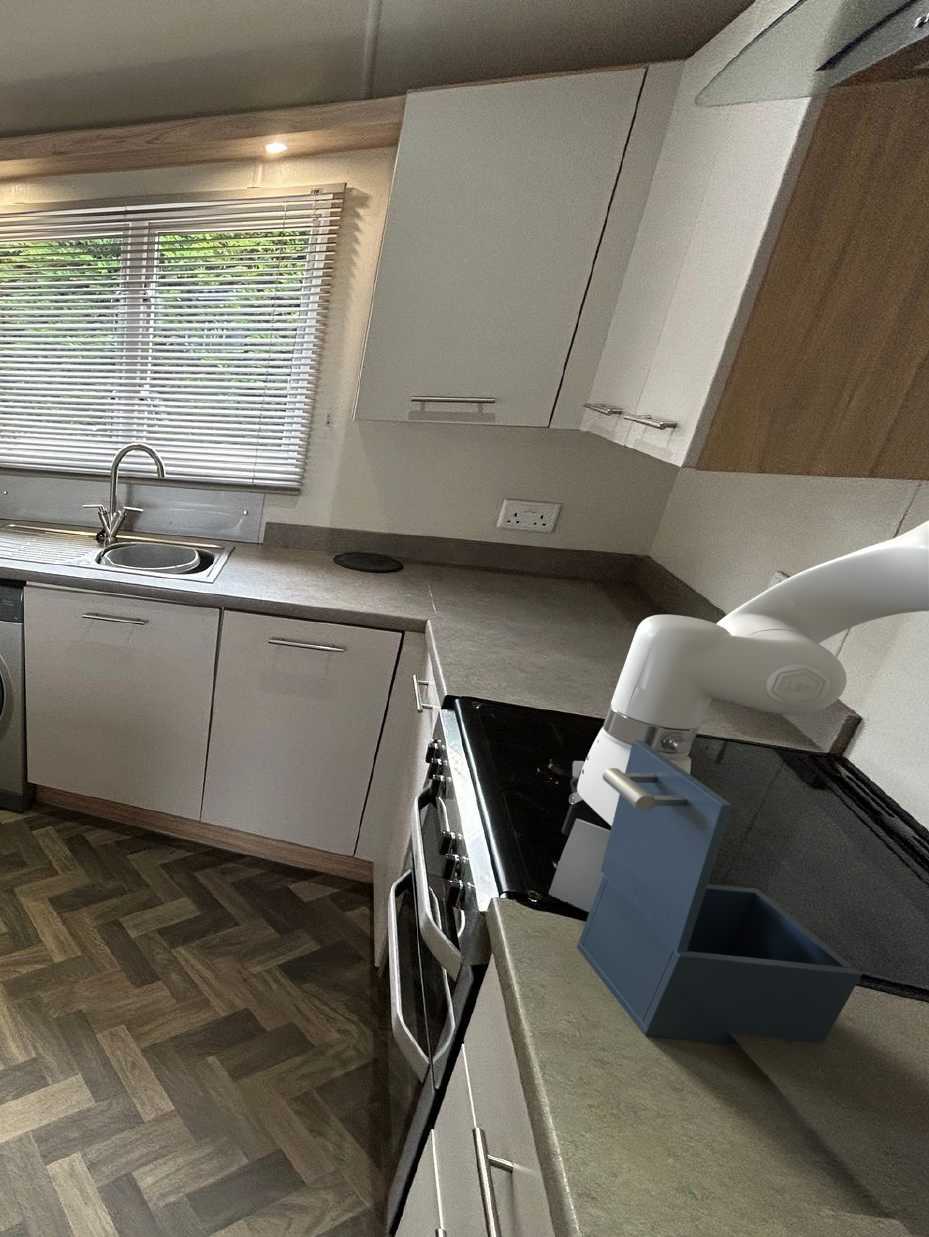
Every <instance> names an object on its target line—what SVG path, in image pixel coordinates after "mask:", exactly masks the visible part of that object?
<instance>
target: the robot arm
mask: <svg viewBox="0 0 929 1237" xmlns="http://www.w3.org/2000/svg"><path fill="white" fill-rule="evenodd" d="M918 612H929V519H928V520H927V521H925V522H923V523H922V524H919V525H918V526H916V527H914V528H913V529H911V530H908V531H906V532H905V533H903V534H901V535H898V536H896V537H894V538H891V539H887V540H884V541H881V542H879V543H875V544H872V545H870V546H866V547H863V548H860V549H858V550H856V551H853V552H851V553H848V554H845V555H843V556H840V557H837V558H835V559H832V560H829V561H826V562H823V563H820V564H817V565H814V566H812V567H810V568H807V569H806V570H803V571H800V572H798V573H796V574H794V575H791V576H790V577H788V578H786V579H784V580H782V581H780V582H779V583H777V584H775V585H773V586H771V587H769V588H768V589H766V590H765V591H763V592H761V593H760V594H758V595H756V596H755V597H753V598H751V599H750V600H748V601H747V602H745V603H743V604H742V605H740V606H738V607H736V608H735V609H734V610H732V611H731V612H730V613H728V614H726V615H725V616H724V617H722V618H721V619H720V620H719V621H718V622H716V623H715V622H713V621H709V620H706V619H701V618H697V617H692V616H686V615H679V614H655V615H651V616H648V617H646V618H645V619H642V621H641V622H640V623H639V624H638V625H637V628H636V630H635V633H634V636H633V639H632V641H631V644H630V647H629V650H628V653H627V656H626V659H625V662H624V665H623V667H622V670H621V673H620V676H619V679H618V682H617V684H616V688H615V690H614V692H613V696H612V698H611V701H610V704H609V707H608V710H607V713H606V716H605V719H604V722H603V725H602V727H601V728H600V730H599V732H598V734H597V736H596V737H595V739H594V741H593V743H592V745H591V748H590V749H589V752H588V754H587V756H586V758H585V761H583V760H573V762H572V778H571V780H570V788H571V794H570V795H569V798H568V802H569V804H570V805H569V808H568V811H567V813H566V817H565V819H564V823H563V825H562V827H561V833H562V834H563V835H564V836H565V837H566V836H567V837H569V836H570V833H571V831H572V828H573V826H574V823H575V821H576V819H580V820H583V821H585V822H588V823H591V824H593V825H596V826H597V823H598V820H599V818H600V817H601V818H602V819H603V821H605V822H606V823H607V824H608V825H609V826H610V827H612V823H613V819H614V815H615V811H616V807H617V803H618V799H619V795H620V794H619V793H618V792H617V791H616V790H615V789H613V788H612V787H611V786H610V785H609V784H608V783H606V782H605V781H604V780H603V773H604V772H605V771H606V770H608V769H610V768H617V769H619V770H620V771H622V772H623V773H625V771H626V767H627V763H628V759H629V755H630V751H631V747H632V743H633V740H642V741H644V742H645V743H646V744H648V745H649V746H650V747H652V748H653V749H655V750H656V751H657V752H659V753H660V754H662V755H663V756H664V757H666V758H667V759H669V760H670V761H671V762H673V763H674V764H676V765H677V766H678V767H680V768H681V769H683V770H684V771H685V772H687V773H688V774H690V775H691V768H692V758H691V757H689V755H690V754H689V753H690V752H691V749H692V747H693V744H694V741H695V740H696V736H697V735H698V732H699V730H700V727H701V724H702V721H703V719H704V717H705V715H706V713H707V712H706V711H707V710H708V707H709V705H710V702H711V700H712V699H713V698H714V699H718V700H722V701H724V702H730V703H732V704H735V705H739V706H743V707H747V708H750V709H753V710H756V711H761V712H766V713H769V714H770V713H771V714H776V715H787V716H789V715H790V716H795V715H797V716H798V715H806V714H810V713H814V712H818V711H821V710H824V709H825V708H828V707H829V706H831V705H832V704H834V703H835V702H836V701H838V699H839V698H841V696H842V694H843V693H844V691H845V689H846V686H847V673H846V669H845V667H844V665H843V664H842V663H841V661H840V660H839V659H838V657H837V656H836V655H835V654H834V653H832V652H831V651H830V650H829V649H827V648H826V647H824V646H823V645H822V644H821V643H823V642H824V641H826V640H828V639H830V638H832V637H834V636H836V635H837V634H840V633H843V632H845V631H846V630H849V629H851V628H853V627H856V626H859V625H862V624H864V623H865V624H866V623H868V622H872V621H875V620H879V619H882V618H885V617H891V616H896V615H901V614H908V613H918Z"/></svg>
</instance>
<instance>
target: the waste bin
mask: <svg viewBox="0 0 929 1237" xmlns="http://www.w3.org/2000/svg"><path fill="white" fill-rule="evenodd" d="M576 948H577V950H578V951H579V952H580V953H581V955H582V957H583V958H584V959H585V960H586V962H587V963H588V964H589V966H590V967H591V968H592V969H593V971H594V972H595V973H596V974H597V976H598V977H599V978H600V980H601V981H602V983H603V984H604V985H605V986H606V988H608V990H609V991H610V993H611V994H612V995H613V996H614V998H615V999H616V1000H617V1001H618V1003H619V1004H620V1005H621V1007H622V1008H623V1009H624V1010H625V1012H626V1013H627V1015H628V1016H629V1017H630V1018H631V1019H632V1021H633V1023H635V1025H636V1026H637V1028H638V1029H639V1030H640V1031H641V1032H642V1034H643V1035H644V1036H645V1037H653V1038H661V1039H670V1040H678V1041H679V1040H680V1041H687V1042H697V1043H705V1044H712V1045H723V1046H730V1047H740V1048H741V1047H742V1046H741V1044H739V1042H738V1041H737V1040H736V1039H735V1038H734V1037H733V1036H732V1034H735V1035H744V1036H752V1037H760V1038H761V1037H762V1038H768V1039H769V1038H770V1039H779V1040H787V1041H795V1042H797V1041H798V1042H804V1043H805V1042H806V1043H814V1044H821V1045H823V1044H824V1043H825V1041H826V1039H827V1038H828V1036H829V1035H830V1032H831V1030H832V1029H833V1027H834V1025H835V1023H836V1022H837V1020H838V1018H839V1016H840V1014H841V1013H842V1011H843V1009H844V1008H845V1006H846V1004H847V1002H848V1001H849V998H850V997H851V994H852V993H853V991H854V990H855V988H856V986H857V985H858V983H859V981H860V979H861V977H862V973H861V972H859V971H858V970H857V969H856V968H854V966H852V965H851V964H850V963H849V962H848V961H846V960H845V959H844V958H842V956H841V955H839V954H838V953H837V952H835V951H834V950H833V949H832V948H830V947H829V946H828V945H827V944H826V943H824V942H823V940H821V939H820V938H819V937H817V935H814V933H813V932H812V931H810V930H809V929H807V927H805V926H804V925H802V924H801V923H800V922H798V920H796V919H795V918H794V917H793V916H792V915H790V914H789V913H788V912H787V911H785V909H783V908H782V907H781V906H779V905H778V904H777V903H776V902H774V901H773V899H771V898H770V897H769V896H767V895H766V894H765V893H764V892H762V890H760V889H759V888H754V887H744V886H732V885H723V884H713V883H711V884H710V883H708V885H707V888H706V891H705V895H704V898H703V901H702V904H701V907H700V910H699V914H698V917H697V920H696V923H695V926H694V929H693V933H692V936H691V939H690V942H689V945H688V949H687V952H677V951H676V950H675V949H674V948H673V947H672V946H671V945H670V944H669V943H668V942H667V941H666V939H665V938H664V937H663V936H662V935H661V934H660V933H659V932H658V931H657V930H656V929H655V928H654V927H653V926H652V925H651V924H650V922H649V921H648V920H647V919H646V918H645V917H644V916H643V915H642V914H641V913H640V912H639V911H638V910H637V909H636V908H635V907H634V906H633V904H632V903H631V902H630V901H629V900H628V899H627V898H626V897H625V896H624V895H623V894H622V893H621V892H620V891H619V890H618V889H617V887H616V886H615V885H614V884H613V883H612V882H611V881H610V880H609V879H608V878H607V877H606V876H605V875H603V877H602V880H601V883H600V886H599V888H598V891H597V894H596V896H595V899H594V902H593V904H592V907H591V910H590V913H589V912H588V915H587V917H586V921H585V924H584V926H583V928H582V931H581V934H580V937H579V939H578V943H577V945H576Z"/></svg>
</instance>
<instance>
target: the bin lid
mask: <svg viewBox="0 0 929 1237" xmlns="http://www.w3.org/2000/svg"><path fill="white" fill-rule="evenodd" d="M603 780H604V781H605V782H606V783H608V784H609V785H610V786H611V787H612V788H613V789H615V790H616V791H617V792H618V793H619V794H620V795H619V799H618V803H617V807H616V811H615V815H614V819H613V823H612V826H610V835H609V839H608V843H607V847H606V851H605V855H604V859H603V863H602V867H601V872H602V873H603V874H604V875H605V876H606V877H607V878H608V879H609V880H610V881H611V882H612V883H613V884H614V885H615V886H616V887H617V889H618V890H619V891H620V892H621V893H622V894H623V895H624V896H625V897H626V898H627V899H628V900H629V901H630V902H631V903H632V904H633V906H634V907H635V908H636V909H637V910H638V911H639V912H640V913H641V914H642V915H643V916H644V917H645V918H646V919H647V920H648V921H649V922H650V924H651V925H652V926H653V927H654V928H655V929H656V930H657V931H658V932H659V933H660V934H661V935H662V936H663V937H664V938H665V939H666V941H667V942H668V943H669V944H670V945H671V946H672V947H673V948H674V949H675V950H676V951H677V952H687V949H688V945H689V942H690V939H691V936H692V933H693V929H694V926H695V923H696V920H697V917H698V914H699V910H700V907H701V904H702V901H703V898H704V895H705V891H706V888H707V885H708V884H709V882H710V879H711V876H712V873H713V869H714V865H715V863H716V860H717V856H718V853H719V849H720V847H721V843H722V841H723V837H724V834H725V831H726V828H727V824H728V822H729V818H730V816H731V812H732V808H733V804H732V803H730V802H729V801H728V800H726V799H724V798H723V797H722V796H720V795H719V794H717V793H716V792H715V791H713V790H712V789H710V788H709V787H708V786H706V785H705V784H703V783H702V782H701V781H700V780H698V779H697V778H695V777H694V776H692V775H691V773H690V774H688V773H687V772H685V771H684V770H683V769H681V768H680V767H678V766H677V765H676V764H674V763H673V762H671V761H670V760H669V759H667V758H666V757H664V756H663V755H662V754H660V753H659V752H657V751H656V750H655V749H653V748H652V747H650V746H649V745H648V744H646V743H645V742H644V741H642V740H633V743H632V747H631V751H630V755H629V759H628V763H627V767H626V771H625V773H623V772H622V771H620V770H619V769H617V768H610V769H608V770H606V771H605V772H604V773H603Z"/></svg>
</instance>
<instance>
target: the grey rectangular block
mask: <svg viewBox="0 0 929 1237" xmlns="http://www.w3.org/2000/svg"><path fill="white" fill-rule="evenodd" d="M610 831H611V829H607V828H604V827H601V826H599V825H597V824H596V825H593V824H591V823H588V822H585V821H583V820H580V819H576V821H575V823H574V826H573V828H572V831H571V833H570V836H568V838H567V841H566V843H565V846H564V848H563V851H562V853H561V856H560V858H559V862H558V865H557V866H556V870H555V873H554V876H553V879H552V882H551V886H550V888H549V890H548V894H549V895H548V896H550V895H551V896H550V897H553V898H555V897H556V898H555V899H557V898H558V899H557V900H559V899H560V901H561V902H564V903H566V902H568V903H567V904H569V903H570V904H569V905H571V904H572V905H571V906H573V907H576V908H578V909H580V910H582V911H585V912H587V913H588V914H589V913H590V910H591V907H592V904H593V902H594V899H595V896H596V894H597V891H598V888H599V886H600V883H601V880H602V877H603V875H604V874H603V873H602V872H601V867H602V863H603V859H604V855H605V851H606V847H607V843H608V839H609V835H610Z"/></svg>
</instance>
